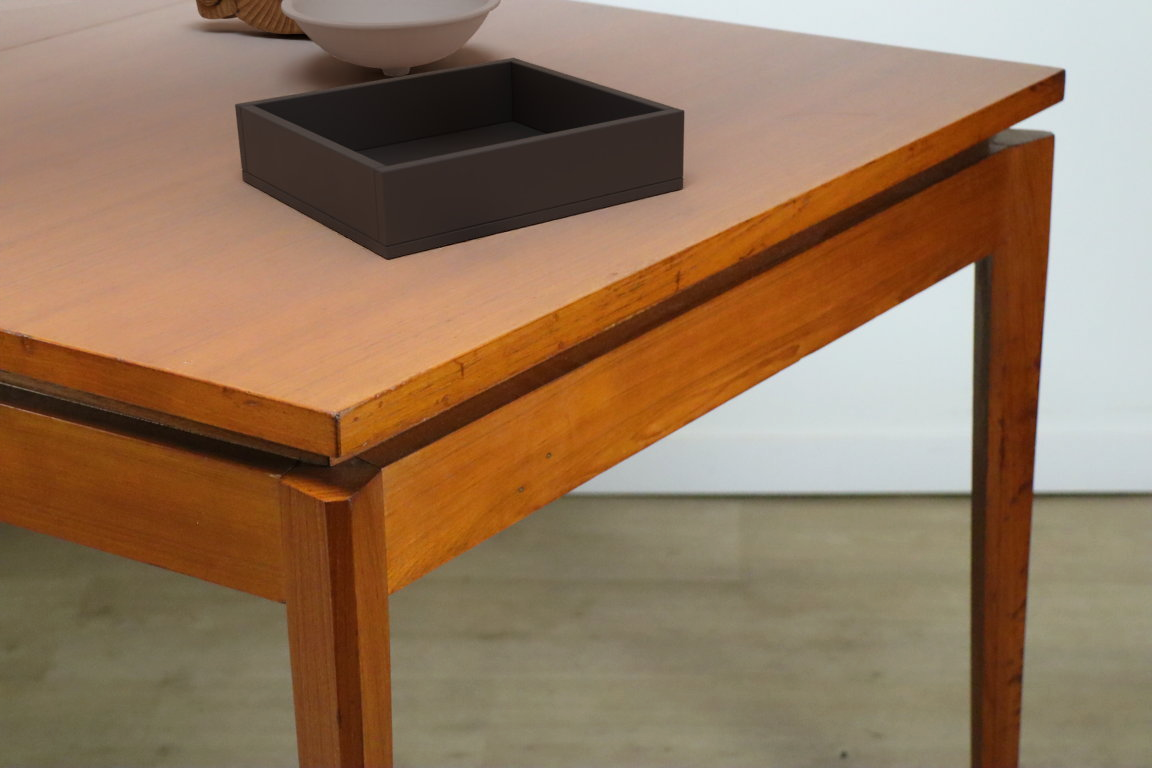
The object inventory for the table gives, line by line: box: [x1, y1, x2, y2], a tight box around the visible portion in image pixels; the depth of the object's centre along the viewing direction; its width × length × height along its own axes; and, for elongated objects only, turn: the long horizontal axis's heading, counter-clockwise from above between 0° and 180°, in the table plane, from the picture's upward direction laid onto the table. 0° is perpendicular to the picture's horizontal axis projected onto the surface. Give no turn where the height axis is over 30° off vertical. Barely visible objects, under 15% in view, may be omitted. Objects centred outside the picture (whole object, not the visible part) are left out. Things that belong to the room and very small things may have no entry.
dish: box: [281, 0, 501, 77], centre depth 101 cm, size 18×14×5 cm
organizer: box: [234, 57, 685, 260], centre depth 78 cm, size 15×17×4 cm
